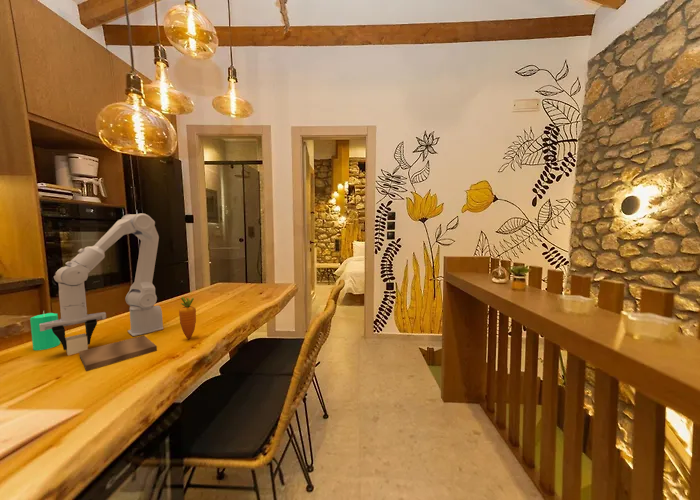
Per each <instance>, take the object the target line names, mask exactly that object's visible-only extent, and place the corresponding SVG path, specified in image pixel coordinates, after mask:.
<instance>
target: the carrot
mask: <svg viewBox="0 0 700 500" xmlns="http://www.w3.org/2000/svg"><path fill="white" fill-rule="evenodd" d="M180 300H181V301H182V302H181V303H180V305H182V306H183V307H181V308H180V309H179V311H178V315H179V316H178V317H179V322H180V323H179V324H180V327H181V329H182V332H183V334H184V336H185V337H186V339H188V340H190V339H192V336H193V335H194V332H195V328H196V324H197V323H196V322H197V310H196V307H195V306H193V305H192V303H193V301H194V300H195V298H194V297H191V298H189V297H186V298H185V296H181V297H180Z"/></svg>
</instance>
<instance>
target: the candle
mask: <svg viewBox="0 0 700 500" xmlns="http://www.w3.org/2000/svg"><path fill="white" fill-rule="evenodd" d="M55 320H59V315H58V313H56V312H55V313H53V312H47V313H45V310H43V312H42V314H37V315H34V316H32V317H30V318H29V321H30V322H29V323H30V333H31V341H32V342H31V343H32V350H33V351H42V350H49V349H53V348H55V347H58V346H60V344H61V342H60V340H59V339H58V337H57V336H56V335H55V334H54V333H53V331H52V329H47V330H45V331H40V325H39V324H41V323H46V322H50V321H55Z"/></svg>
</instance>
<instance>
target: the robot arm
mask: <svg viewBox="0 0 700 500" xmlns="http://www.w3.org/2000/svg"><path fill="white" fill-rule="evenodd" d="M155 225H156V221H155V220H154V219H153V218H152V217H151V216H150V215H149V214H146V213H144V212H143V213H137V214H130V213H127V214H125V215H123V216H122V217H121V219H117V221H116V222H115V223H114V224H113V225H112V226H111V227H110V228H109V229H108V230H107V232H106V233H105V234H104V235H102V236H101V238H100V239H99V240H97V241H96V243H95V244H94V245H92V246H89V245H88V246H86V247H84V248H80V249H78V250H77V253H78V254H77V255H75V257H73V258H72V259H71V260H70V261H67V262H65V266H62V267H60V268H59V269H57V271H55V273H54V276H53V279H54V281H55V282H56V283H58V298H59V307H60V309H59V310H60V311H59V312H60V318H58V320H55V321H50V322H46V323H41V324H39V325H40V331H45V330H47V329H52V331H53V333H54V334H55V335H56V336H57V337H58V339H59V340H60V344H61V345H62V349H63V351H66V350H67V345H66V340H65V338H66V330H65V327H68V326H73V325H77V324H83V323H84V328H85V334H86V336H87V342H88V346H89V345H91V340H92V339H91V338H92V335H93V333H94V332H95V329H96V327H97V325H98V320H106V319H107V313H106V312H105V311H103V312H96V313H90V314H88V309H87V297H86V288H85V281H87V280H88V279H89V278H88V277H89V273H91V272H92V270H93V269H94V268H96V267H97V266H98V265H99V264H100V263H101V262H102V261H103V260H104V259H105V257H106V255H105V254H106V253H105V252H106V251H107V250H108V249H109V248H111V247H112V246H113V245H115V243H116V242H117V241H118V240H120V239H121V238H122V237H123V236H125V235H129V234H133V235H134V236H135V237H137V239H138V240H140V245H139V252H138V259H137V263H136V271H135V277H134V282H133V283H132V284H131V285H130V287H129V291H128V292H127V294H125V295H126V296H125V302H126V304H127V305H128V306H129V319H130V320H129V321H130V329H128V330H127V332H128V334H130V335H131V336H132V337H138V336H140V335H141V336H142V335H145V334H148V333H154V332H157V331H162V330H164V325H163V324H164V323H163V311H162V307H161V306H160V305H155V304H156V303H157V300H158V297H157V294H156V287H155V285H154V284H153V279H154V274H155V273H154V272H155V267H156V266H155V265H156V262H157V261H156V259H157V255H158V254H157V253H158V247H159V239H160V236H159V233H158V231H157V227H156V226H155Z"/></svg>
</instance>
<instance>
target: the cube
mask: <svg viewBox="0 0 700 500" xmlns="http://www.w3.org/2000/svg"><path fill="white" fill-rule="evenodd" d="M65 340H66V345H67V350H65V351H66V354H67V356H72V355H75V354H80V353H79V351H83V350H87V349H89V345H88V342H87V336H86V332H85V333H80V334H76V335H75V334H74V335H70V336H67V337H66V336H65Z"/></svg>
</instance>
